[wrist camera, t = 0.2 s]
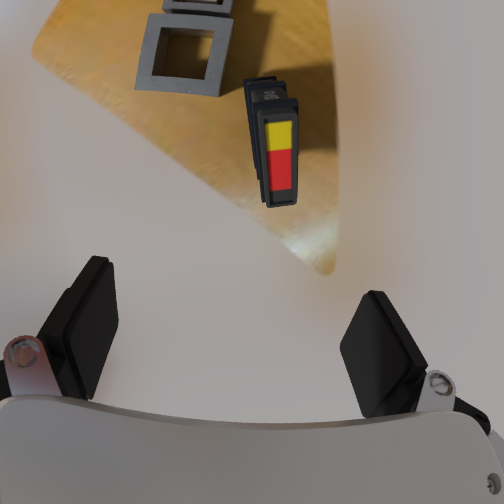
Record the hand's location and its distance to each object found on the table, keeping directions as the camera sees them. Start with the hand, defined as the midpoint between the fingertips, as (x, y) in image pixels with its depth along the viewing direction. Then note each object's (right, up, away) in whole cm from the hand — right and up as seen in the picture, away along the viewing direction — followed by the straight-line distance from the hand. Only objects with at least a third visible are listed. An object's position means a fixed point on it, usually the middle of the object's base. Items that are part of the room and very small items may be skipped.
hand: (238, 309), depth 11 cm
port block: (-7, +26, +20) cm, 34 cm away
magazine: (+2, +18, +26) cm, 31 cm away
